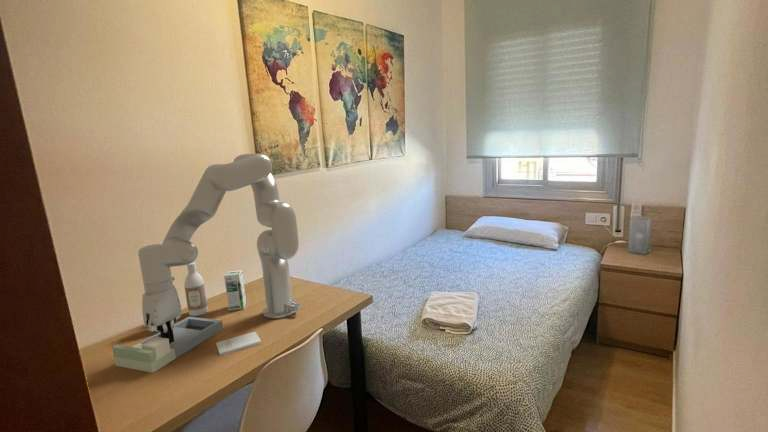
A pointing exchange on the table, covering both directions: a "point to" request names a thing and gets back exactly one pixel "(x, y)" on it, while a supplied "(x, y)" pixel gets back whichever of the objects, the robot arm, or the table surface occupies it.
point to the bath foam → (195, 292)
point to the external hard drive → (238, 343)
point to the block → (157, 345)
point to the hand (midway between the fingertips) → (168, 342)
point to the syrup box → (235, 290)
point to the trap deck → (184, 339)
